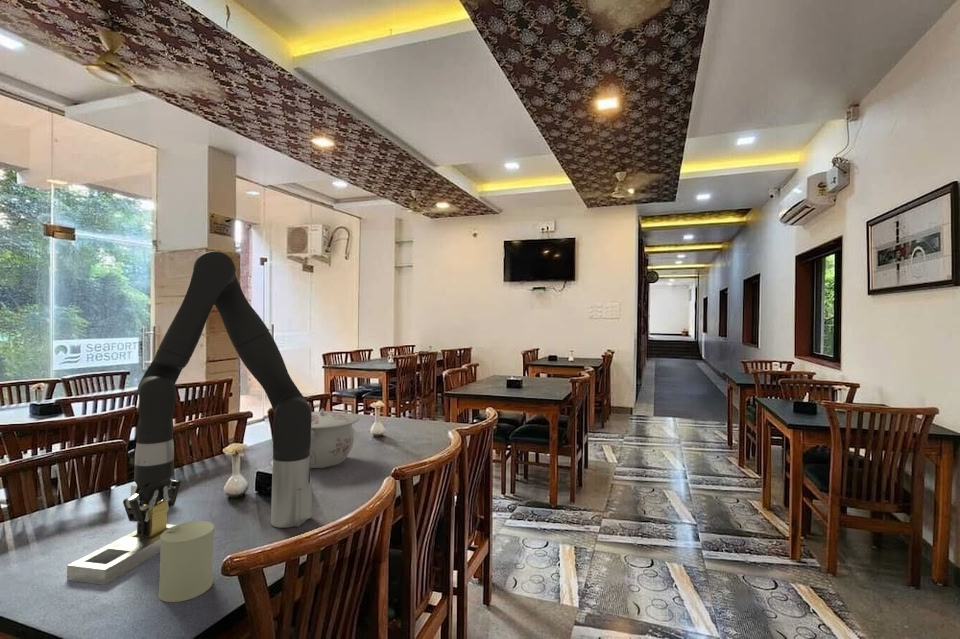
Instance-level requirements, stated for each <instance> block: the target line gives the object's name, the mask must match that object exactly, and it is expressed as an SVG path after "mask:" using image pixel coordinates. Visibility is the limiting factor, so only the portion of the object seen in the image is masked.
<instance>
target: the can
mask: <svg viewBox="0 0 960 639" xmlns="http://www.w3.org/2000/svg"><path fill="white" fill-rule="evenodd" d="M175 525H176V526H173V527H171V528H169V529H167V530H165V531H164V532H163V533H162V534H161V536H160V539H161V552H159V553H160V557H159V558H160V560H159V562H160V563H159V564H160V565H159V587H158V593H157V597H158V598H159V600H160V601H162V602H164V603H165V602H166V603H180V602H185V601H189V600H192V599H195V598H197V597H200V596H201V595H203V594H204V593H206V592H207V591H208V590H210V588H212V586H213V583H214V579H213V562H214V561H213V560H214V559H213V558H214V532H215V524H214V523H212V522H211V521H208V520H207V521H205V520H193V521H189V522H188V521H187V522H182V523H179V524H175Z"/></svg>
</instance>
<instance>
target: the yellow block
mask: <svg viewBox="0 0 960 639" xmlns="http://www.w3.org/2000/svg"><path fill="white" fill-rule="evenodd" d="M144 506H145V507H148V505H145V504H144ZM167 513H168V511H167V501H163V500H161V501H158V502H156V503H155V505H154V507H152V510H151V511H150V519H149V536H147V537H139V535H138V534H137V538H146V539H153V538H155V537H157V536H159V535H161V534H162V533H163V532H164V531H165V530H166V524H167V521H168V520H167V519H168V518H167V516H168V514H167ZM143 515H145V511H144V510H143ZM137 529H138V522H136V530H137Z"/></svg>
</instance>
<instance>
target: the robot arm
mask: <svg viewBox="0 0 960 639" xmlns="http://www.w3.org/2000/svg"><path fill="white" fill-rule="evenodd" d="M192 271H193V272H192V273H191V274H192V275H191V279H190V281H189V285H188V288H187V291H186V292H185V293H186V294H185V296H184V299H183V301H182V303H181V304H180V307H179V308H178V310H177V313H176V314H175V316H174V318H173V319H172V322H171V323H170V325H169V326H168V328H167V330H166V333H165V334H164V336H163V338H162V340H161V342H160V344H159V346H158V348H157V351H156V353H155V355H154V357H153V360H152V361H151V363H150V364H149V365H148V368H147V369H146V370H145V372H144V374H143V375H142V378H141V380H140V381H139V384H138V386H137V394H138V400H139V402H138V403H139V407H138V408H139V411H138V412H139V413H138V414H139V419H138V421H137V427H136V446H135V450H134V468H133V469H134V470H133V472H134V474H133V480H134V481H133V482H134V484H137V489H136V491H135V495H133V496H132V497H131V496H130V497H131V498H124V499H123V502H122V504H123V507H124V510H125V512H126V515H127V518H128V521H129V522H135V523H137V522H138V529H137V528H136V530H137V534H138V535H139V537H147V536H149V519H150V511H151V510H152V507H154V505H155V503H156V502H158V501H161V500H163V501H167V512H169V510H170V508H171V507H174V506H175V504H176V500H177V498H178V494H179V489H180V486H181V481H180V480H176V479H175V480H174V479H173V480H171V478H172V477H173V475H174V463H175V462H174V459H175V445H174V413H175V407H176V406H175V405H176V397H177V394H176V393H177V389H176V383H177V381H178V379H179V376H180V374H181V373H182V370H183V369H184V368H185V367H187V365H188V363H189V362H190V361H191V358H192V356H193V354H194V353H195V352H194V351H195V350H196V347H197V345H198V343H199V342H200V339H201V337H202V334H203V331H204V328H205V326H206V323H207V320H208V318H209V316H210V313H211V311H212V309H213V307H215V308H216V309H217V311H218V313H219V315H220V318H221V321H222V323H223V325H224V328H225V331H226V334H228V337H229V340H230V341H231V344H232V346H233V348H234V349H235V351H236V353H237V354H238V356H239V358H240V360H241V362H242V363H243V365H244V366H245V368H246V369H247V370H248V371H249V373H250V374H251V375H252V376H253V378H254V379H255V380H256V381H257V382H258V384H260V386H261V387H262V389H263V390H264V392H265V394H266V397H267V398H268V402H269V403H270V405H271V408H272V410H273V413H274V414H273V428H272V429H273V430H272V431H273V433H272V436H273V440H272V470H271V471H272V472H271V473H272V475H271V477H272V478H271V504H270V505H271V507H270V509H271V512H270V523H271V526H272V527H275V528H280V529H283V528H286V529H287V528H293V526H294V527H301V526H302V525H303V524H305V523H306V522H307V521H308V520H309V519H310V518H311V517H312V503H313V502H312V501H313V500H312V497H313V482H311V481H310V468H309V466H310V446H311V422H312V414H311V412H312V409H311V406H310V404H309V402H308V400H307V399H306V398H305V396H304V395H303V393H301V391H300V390H299V388H298V387H297V386H296V384H295V382H294V381H293V379H292V378H291V376H290V374H289V372H288V369H287V366H286V364H285V360H284V358H283V356H282V353H281V351H280V349H279V347H278V345H277V343H276V340H275V339H274V337H273V336H272V334H271V332H270V330H269V328H268V327H267V325H266V324H265V322H264V321H263V320H262V318H261V317H260V315H259V314H258V313H257V312H256V310H255V309H254V308H253V306H252V305H251V304H250V303H249V301H248V300H247V297H246V296H245V294H244V292H243V290H242V287H241V285H240V282H239V279H238V277H237V274H236V273H237V271H236V265H235V262H234V261H233V259H232V258H231V257H230V256H229V255H228V254H226V253H224V252H222V251H219V250H218V251H217V250H213V251H212V250H211V251H206V252H204V253H202V254H200V255H199V256H198V257H197V258H196V260H195V261H194V264H193V270H192ZM170 495H171V500H170V501H169V497H170ZM144 504H145V505H148V507H145V506H144ZM143 510H144V511H145V515H143ZM307 519H308V520H307ZM306 520H307V521H306ZM305 521H306V522H305ZM302 523H303V524H302ZM301 524H302V525H301ZM300 525H301V526H300Z"/></svg>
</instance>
